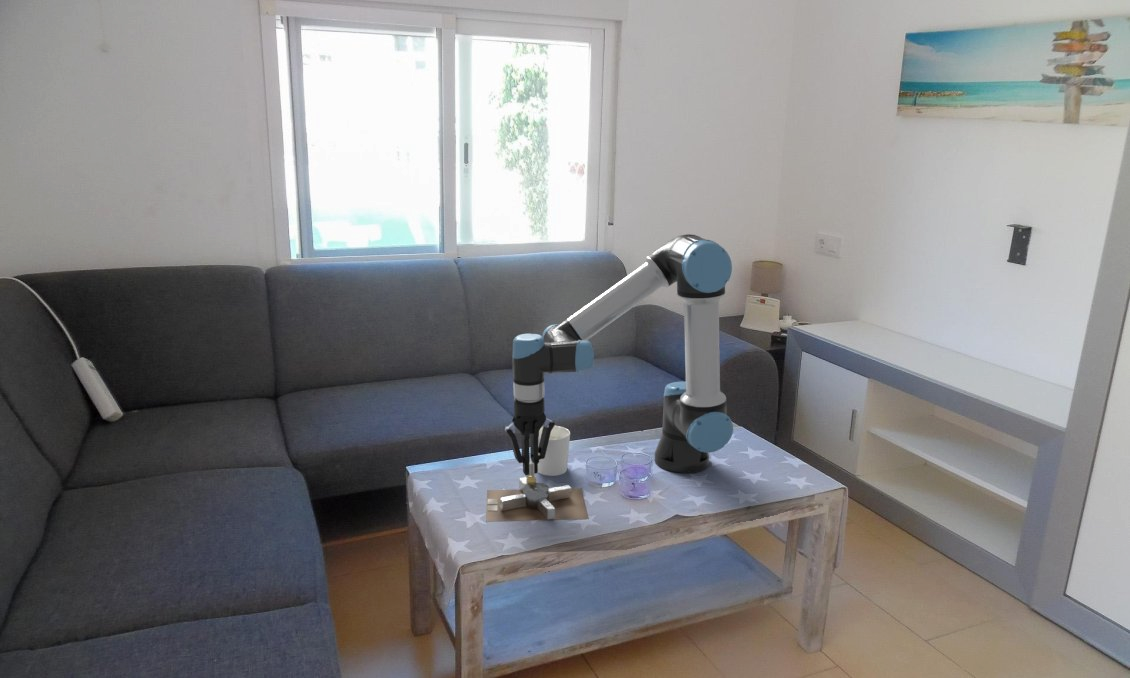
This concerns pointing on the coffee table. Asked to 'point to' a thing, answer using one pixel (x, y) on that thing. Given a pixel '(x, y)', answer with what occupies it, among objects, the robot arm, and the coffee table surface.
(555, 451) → the candle holder
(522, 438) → the robot arm
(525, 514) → the level base
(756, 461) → the coffee table surface
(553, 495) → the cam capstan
